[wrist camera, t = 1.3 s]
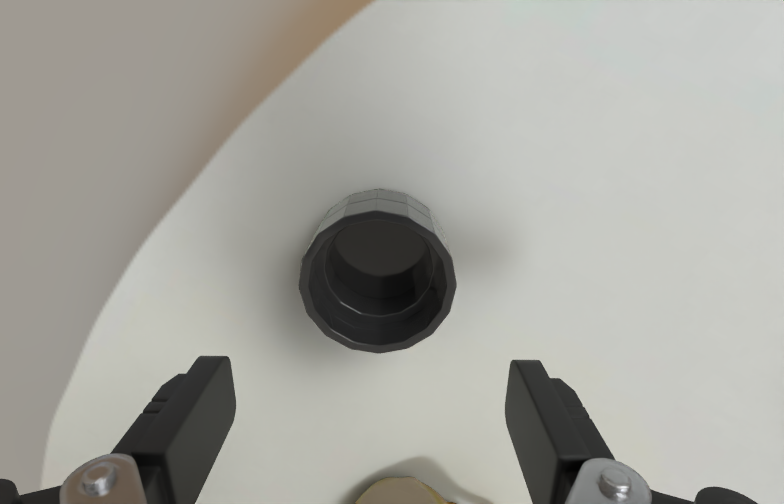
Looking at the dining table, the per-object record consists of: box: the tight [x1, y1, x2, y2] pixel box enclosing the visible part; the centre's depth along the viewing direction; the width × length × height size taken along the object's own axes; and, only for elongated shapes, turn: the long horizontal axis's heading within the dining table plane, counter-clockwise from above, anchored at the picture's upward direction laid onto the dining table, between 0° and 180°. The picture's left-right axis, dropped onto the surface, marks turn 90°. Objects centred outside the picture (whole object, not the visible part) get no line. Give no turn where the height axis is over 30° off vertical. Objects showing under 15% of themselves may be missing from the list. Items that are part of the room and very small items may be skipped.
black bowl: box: [299, 189, 457, 353], centre depth 20 cm, size 6×6×4 cm
